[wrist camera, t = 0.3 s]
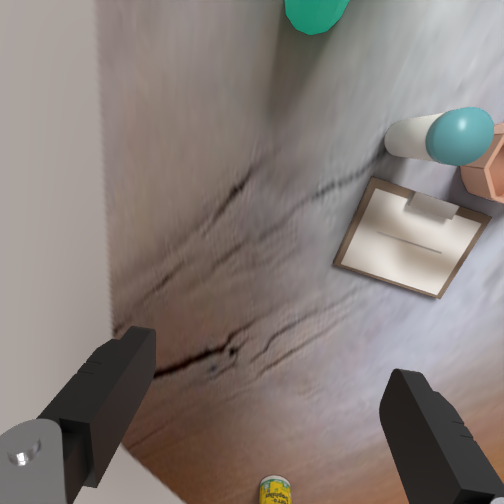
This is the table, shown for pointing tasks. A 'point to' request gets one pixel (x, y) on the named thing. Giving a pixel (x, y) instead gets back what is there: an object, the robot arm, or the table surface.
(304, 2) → the candle
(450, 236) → the clipboard
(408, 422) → the robot arm
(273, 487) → the supplement bottle
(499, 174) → the pen cup
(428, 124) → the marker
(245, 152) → the table surface
